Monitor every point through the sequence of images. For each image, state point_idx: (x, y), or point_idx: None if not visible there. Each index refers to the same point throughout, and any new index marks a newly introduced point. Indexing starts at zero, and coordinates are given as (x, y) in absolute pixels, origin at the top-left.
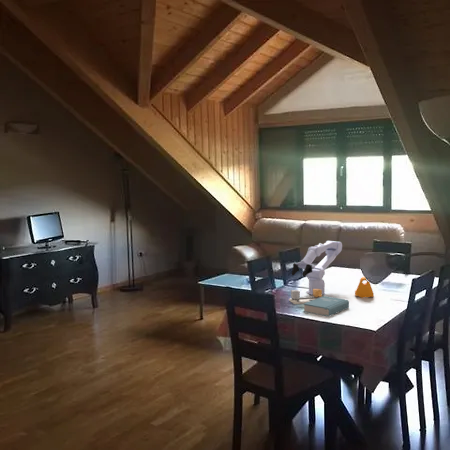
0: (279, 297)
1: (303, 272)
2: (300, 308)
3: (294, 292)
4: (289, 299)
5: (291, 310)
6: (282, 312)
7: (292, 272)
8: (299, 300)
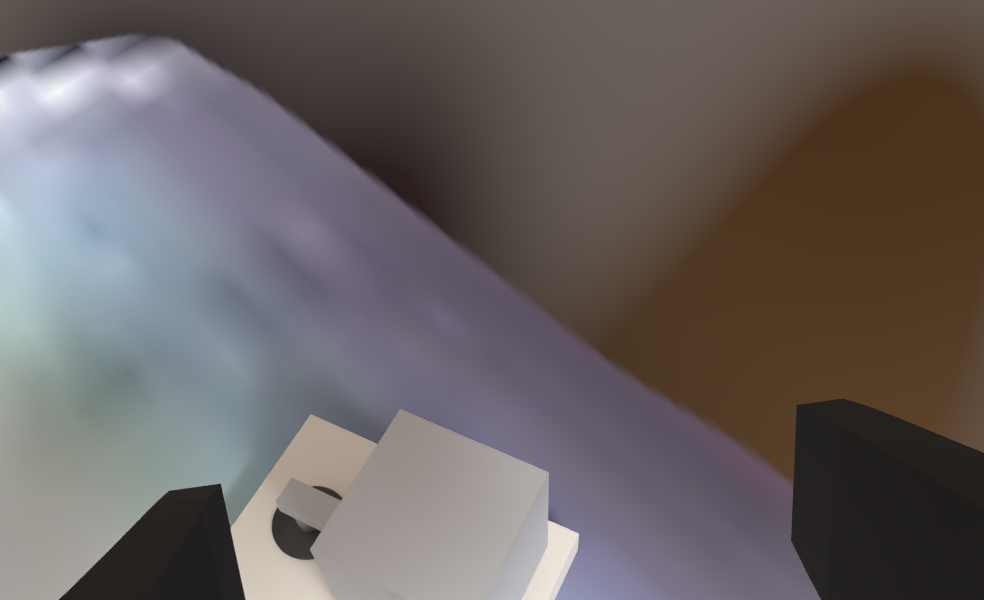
0: None
1: (156, 524)
2: (90, 329)
3: (390, 438)
4: (559, 531)
5: (146, 184)
6: (190, 72)
7: (813, 410)
8: (321, 583)
